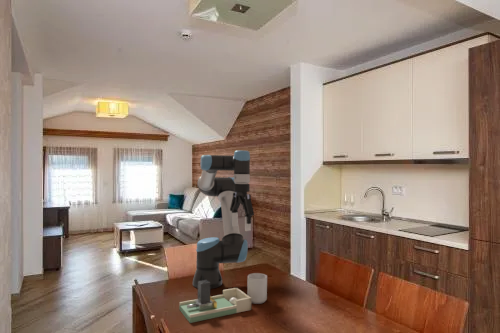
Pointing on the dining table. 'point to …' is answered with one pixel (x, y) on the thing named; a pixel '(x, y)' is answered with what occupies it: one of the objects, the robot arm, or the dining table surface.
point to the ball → (233, 301)
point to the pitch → (218, 306)
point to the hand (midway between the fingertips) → (241, 228)
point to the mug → (257, 287)
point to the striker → (203, 297)
